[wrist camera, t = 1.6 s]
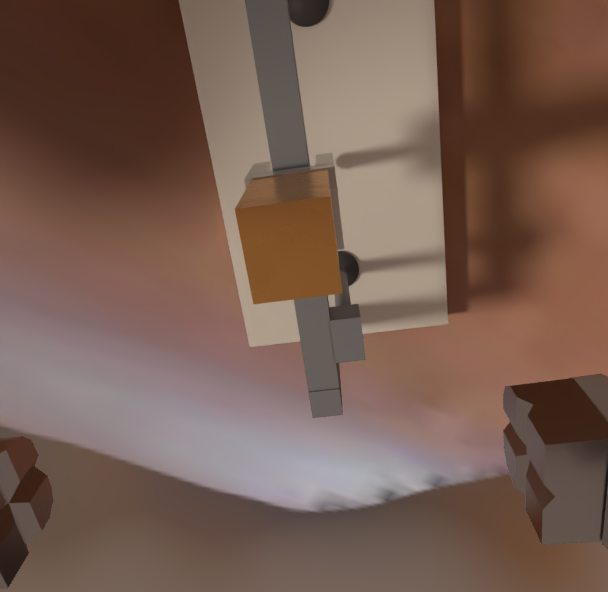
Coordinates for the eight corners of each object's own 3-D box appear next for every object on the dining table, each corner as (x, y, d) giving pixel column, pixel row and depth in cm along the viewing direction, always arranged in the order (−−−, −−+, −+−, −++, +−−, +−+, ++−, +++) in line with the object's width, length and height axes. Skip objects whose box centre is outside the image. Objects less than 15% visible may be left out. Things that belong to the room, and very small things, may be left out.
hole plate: (252, 337, 40) (228, 437, 29) (159, -121, 29) (68, -228, 19) (443, 314, 39) (491, 410, 28) (420, -170, 28) (484, -312, 17)
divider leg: (275, 202, 34) (245, 306, 19) (266, 143, 32) (225, 209, 18) (337, 194, 34) (353, 293, 19) (331, 134, 32) (341, 193, 18)
